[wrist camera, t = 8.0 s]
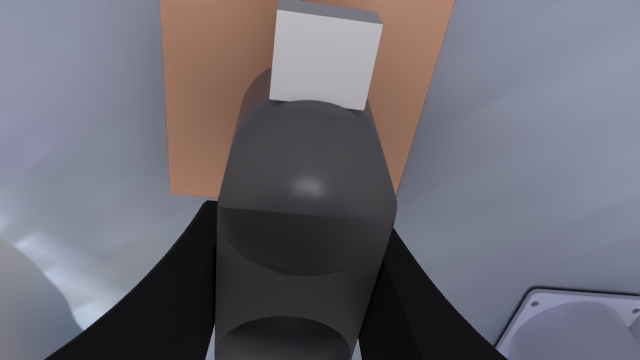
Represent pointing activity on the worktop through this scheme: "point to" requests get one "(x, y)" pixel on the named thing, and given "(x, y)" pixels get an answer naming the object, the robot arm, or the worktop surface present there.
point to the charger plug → (304, 194)
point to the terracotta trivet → (257, 56)
